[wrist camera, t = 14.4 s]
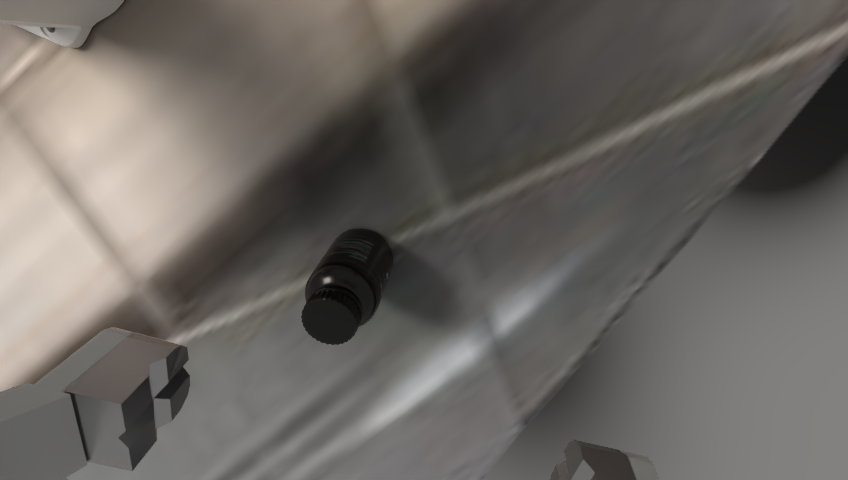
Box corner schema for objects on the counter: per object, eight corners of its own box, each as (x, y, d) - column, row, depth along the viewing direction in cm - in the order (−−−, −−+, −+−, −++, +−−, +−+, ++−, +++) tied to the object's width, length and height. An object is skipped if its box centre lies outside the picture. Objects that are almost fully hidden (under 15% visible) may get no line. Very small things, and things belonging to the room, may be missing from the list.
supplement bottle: (386, 288, 47) (360, 363, 36) (328, 272, 47) (285, 342, 36) (400, 236, 44) (376, 301, 33) (337, 219, 44) (293, 278, 33)
